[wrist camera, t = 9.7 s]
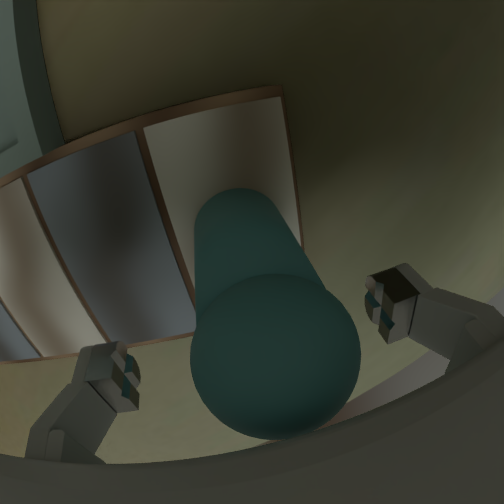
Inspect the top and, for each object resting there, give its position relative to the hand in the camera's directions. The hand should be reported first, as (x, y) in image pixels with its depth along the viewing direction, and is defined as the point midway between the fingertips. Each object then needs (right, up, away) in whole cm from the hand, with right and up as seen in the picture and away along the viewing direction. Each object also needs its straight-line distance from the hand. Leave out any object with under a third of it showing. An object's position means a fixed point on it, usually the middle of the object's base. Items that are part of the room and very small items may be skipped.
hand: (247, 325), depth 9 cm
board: (-9, +2, +5) cm, 11 cm away
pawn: (-1, +3, +5) cm, 6 cm away
